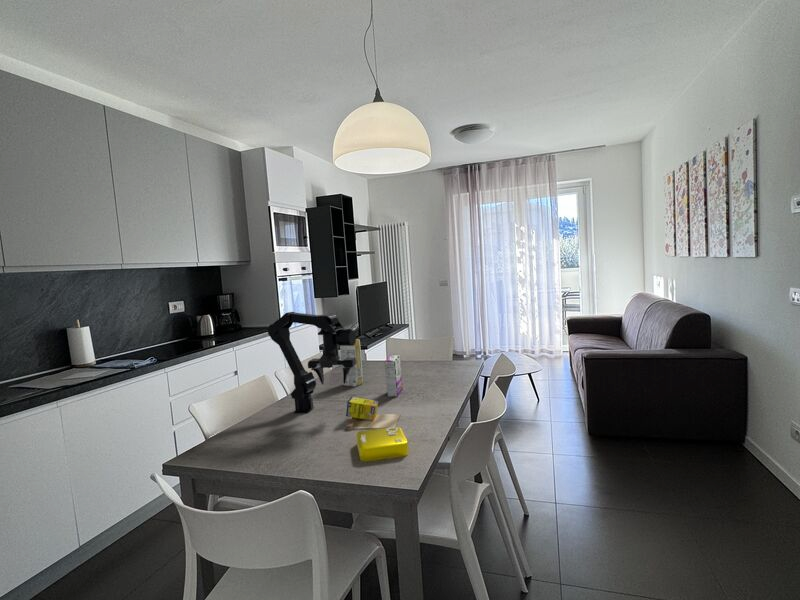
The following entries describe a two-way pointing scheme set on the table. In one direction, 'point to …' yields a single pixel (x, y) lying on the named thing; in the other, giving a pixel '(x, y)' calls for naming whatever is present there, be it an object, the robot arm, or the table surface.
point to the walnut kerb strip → (351, 423)
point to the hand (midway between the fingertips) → (333, 383)
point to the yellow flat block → (381, 444)
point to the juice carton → (356, 371)
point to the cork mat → (378, 422)
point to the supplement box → (362, 408)
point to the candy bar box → (393, 375)
